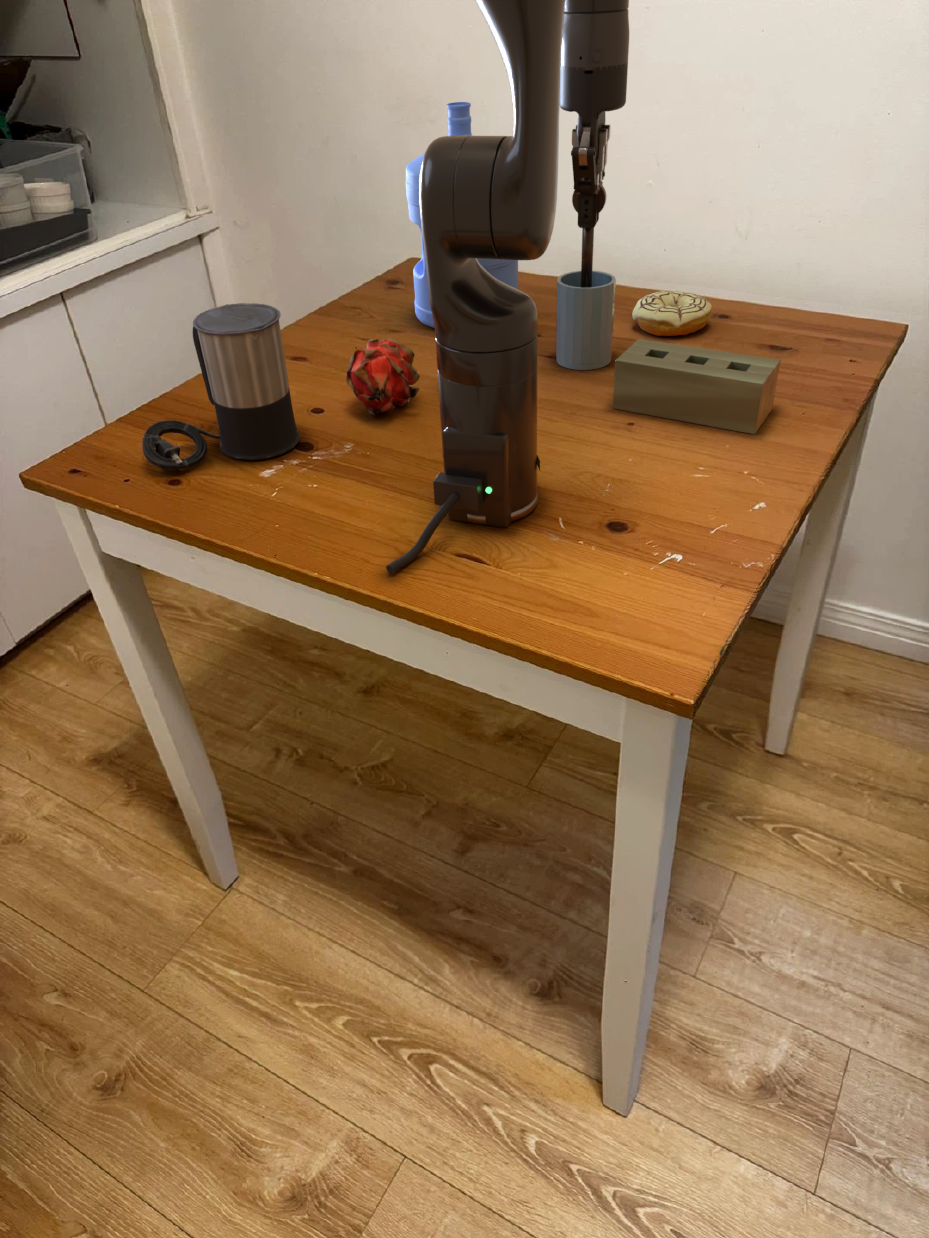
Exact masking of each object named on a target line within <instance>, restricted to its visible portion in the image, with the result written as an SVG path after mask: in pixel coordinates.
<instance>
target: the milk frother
mask: <svg viewBox="0 0 929 1238" xmlns="http://www.w3.org/2000/svg"><path fill="white" fill-rule="evenodd" d="M280 311H281V310H279V309H278V308H276V307H274V306H272V305H269V304H265V303H256V302H241V303H230V304H224V305H221V306H217V307H216V306H215V307H211V308H209V309H207V310H205V311H203V312H201V313H199V314H197V315H196V316H195V317H194V319H193V321H192V339H193V340H192V341H193V345H194V348H195V352H196V355H197V359H198V364H199V368H200V371H201V374H202V380H203V383H204V386H205V389H206V393H207V397H208V401H209V403H210V404H211V405H212V406H214V410H215V415H216V421H217V426H218V433H219V434H214V433H210V432H208V431H206V430H204V429H203V428H199V427H197V426H196V425H193V424H190V423H186V422H183V421H180V420H176V419H173V420H172V419H171V420H170V419H169V420H166V419H165V420H161V421H160V420H159V421H157V422H155V423H152V424H151V425H150V426H148V428H147V429H146V431H145V432H144V434H143V437H142V438H141V439H142V440H141V441H142V443H141V446H142V447H141V448H142V454H143V456H144V457H145V459H146V460H147V462H149V463H150V464H152V465H153V466H155V467H156V468H159V469H162V470H168V471H179V470H180V471H181V470H186V469H190V468H192V467H194V466H197V465H198V464H201V463H202V462H203V461H204V459H205V458H206V456H207V453H208V444H207V441H206V439H205V437H204V436H207V437H210V438H212V439H217V440H220V442H219V448H220V451H221V452H222V454H224V455H225V456H228V457H230V458H233V459H236V460H237V459H238V460H245V461H246V460H247V461H258V460H265V459H269V458H274V457H277V456H280V455H283V454H286V453H287V452H289V451H291V450H293V449H294V448H295V447H296V446H297V445H298V444H299V443H300V439H301V435H300V432H299V429H298V428H297V424H296V419H295V414H294V408H293V403H292V396H291V391H290V384H289V377H288V376H289V375H288V369H287V364H286V355H285V350H284V343H283V338H282V332H281V325H280V318H281V315H282V313H281V312H280ZM171 433H172V434H181V435H183V436H186V437H188V438H189V439H191V440H192V441H193V442H194V444H195V450H194V452H193V453H192V454H190V455H189V456H187V457H184V458H181V456H180V455H181V453H180V452H181V448H180V446H178V445H176V446H175V445H174V444H172V443H171V442H169V441H167V440H166V439H162V436H163V435H164V434H171ZM203 435H204V436H203Z"/></svg>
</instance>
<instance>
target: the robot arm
mask: <svg viewBox="0 0 929 1238" xmlns="http://www.w3.org/2000/svg"><path fill="white" fill-rule="evenodd" d="M474 1H475V3H476V5H477V6H478V9H479V10H480V12H481V14H482V17H483V18H484V20H485V22H486V24H487V26H488V28H489V30H490V33H491V35H492V37H493V39H494V41H495V44H496V46H497V49H498V52H499V54H500V57H501V59H502V62H503V65H504V68H505V71H506V74H507V78H508V82H509V87H510V93H511V100H512V111H513V131H512V135H472V136H448V135H443V136H439V137H437V138H435V139H434V140H432V141H431V143H429V144H428V146H427V148H426V150H425V152H424V153H425V154H424V153H423V154H424V157H423V161H422V164H421V170H420V180H419V205H420V217H421V227H422V234H423V242H424V250H425V258H426V266H427V275H428V286H429V297H430V306H431V311H432V315H433V319H434V325H435V328H434V338H435V351H436V352H435V353H436V367H437V385H438V399H439V415H440V431H441V445H442V446H441V447H442V462H443V472H442V471H440V472H438V474H437V475H436V477H435V478H434V479H433V480H432V484H433V485H432V486H433V498H434V505H435V506H440V507H439V509H438V510H437V512H435V514H434V515H433V516H432V518H431V519H430V520H429V522H428V523H427V525H426V526H425V528H424V529H423V531H422V533H421V534H420V536H419V538H418V540H417V541H416V542H415V544H414V545H413V547H412V548H411V549H410V550H408V551H407V552H406V553H405V554H403V555H402V556H400V557H399V558H397V559H395V560H393V561H392V562H390V563H388V564H387V565H386V566H385V569H386V571H387V572H388V573H389V574H394V573H395V572H397V571H398V570H400V569H401V568H404V567H405V566H407V565H409V564H410V563H411V562H412V561H414V560H415V559H416V558H417V557H418V556H419V555H420V554H421V553H422V552H423V551H424V549H425V548H426V547H427V545H428V543H429V541H430V540H431V538H432V537H433V535H434V533H435V532H436V530H437V529H438V527H439V526H440V525H441V524H442V522H443V521H444V519H445V518H446V517H447V519H448V520H452V521H459V522H466V523H472V524H479V525H487V526H493V527H498V528H508V527H509V525H510V524H511V523H512V522H515V521H517V520H519V519H522V518H524V517H526V516H528V515H529V514H531V513H532V512H533V511H534V510H535V509H536V507H537V505H538V502H539V489H538V470H539V472H541V460H540V458H539V455H538V331H539V329H538V325H539V324H538V321H539V319H538V317H539V316H538V308H537V305H536V303H535V301H534V299H533V298H532V297H531V296H530V295H528V294H527V293H525V292H524V291H521V290H519V289H518V290H517V289H515V288H513V287H511V286H509V285H507V284H505V283H503V282H501V281H499V280H498V279H496V278H495V277H493V276H492V275H491V274H489V273H488V272H487V271H486V270H485V269H484V268H483V267H482V266H481V265H480V264H479V262H478V260H477V258H478V259H500V260H501V259H503V260H518V261H535V260H538V259H539V258H541V257H542V256H543V255H544V254H545V252H546V251H547V249H548V247H549V244H550V242H551V239H552V236H553V232H554V228H555V222H556V221H555V220H556V213H557V203H558V185H559V184H558V182H559V181H558V180H559V179H558V178H559V147H560V141H559V140H560V109H562V110H563V111H565V112H568V113H569V112H570V113H572V112H575V113H577V115H578V118H577V124H576V125H575V128H572V130H571V146H572V148H571V151H570V156H571V163H572V176H573V178H572V179H573V192H574V191H575V193H577V195H578V213H577V226H578V228H580V229H582V228H594V229H595V227H596V225H597V223H598V222H599V219H600V213H599V214H597V200H598V192H599V183H601V184H602V185H604V181H603V180H604V179H605V177H606V171H605V170H606V166H607V164H608V146H609V140H610V139H611V124H606V112H613V111H617V110H619V109H622V108H623V107H625V105H626V103H627V90H628V89H627V88H628V70H629V54H630V53H629V52H630V51H629V49H630V21H629V20H630V19H629V8H630V0H474ZM585 180H591V181H585Z"/></svg>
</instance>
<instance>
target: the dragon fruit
mask: <svg viewBox="0 0 929 1238" xmlns="http://www.w3.org/2000/svg"><path fill="white" fill-rule="evenodd" d="M414 359H415V352H414V351H413V349H411V348H410V347H407V346H405V345H404V344H401V343H400V342H399V341H398V339H395V338H394V337H387V338H383V339H382V340H379V339H378V338H373V339H369V340H368V341H367V343H366V348H364V349H356V350H355V351H354V352H353V354H352V355H351V356H350V359H349V366H348V368H347V371H346V375H345V380H346V383H347V385H348V386H349V387H350V389H351V390H352V392H353V394H354V396H355V397H356V398H357V399H358V400H359V401H360V402H361V403H362V405H363V406H364V407H365V408H366V411H367V412H368V413H369V414H370V415H372V416H374V417H376V416H377V413H383V412H386V411H387V412H388V411H393V409H395V407H396V406H399V407H400V406H401V407H402V406H404V405H405V404H407V402H408V401H409V400H410V399H414V398H415V397H416V396H417V395H418V393H419V391H420V387H419V386H415V384H417V382H419V380H420V377H421V375H420V373H418V369H416V368H415V367H414V365H413V362H414ZM393 403H394V404H393Z"/></svg>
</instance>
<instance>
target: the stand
mask: <svg viewBox="0 0 929 1238" xmlns="http://www.w3.org/2000/svg"><path fill="white" fill-rule="evenodd" d="M780 365H781V359H777V358H772V357H763V356H757V355H751V354H744V353H737V352H730V351H723V350H717V349H710V348H703V347H697V346H690V345H682V344H677V343H671V342H663V341H657V340H648V339H642V338H637V340H636V341H634V342H633V343H632V344H631V345H630V346H629V347H628V348H627V349H626V350H624V351H623V352H622V353H621V354H620V355H619V356H618V357H617V358H616V359H615V362H614V379H613V395H612V396H613V397H612V409H614V410H618V411H619V410H620V411H625V412H630V413H634V414H635V413H636V414H641V415H648V416H653V417H657V418H662V419H669V420H674V421H679V422H685V423H690V424H696V425H702V426H707V427H712V428H717V429H723V430H728V431H733V432H734V431H735V432H739V433H745V434H750V435H756V433H757V432H758V430H759V429H760V427H761V426H762V425H763V423H764V422H765V420H766V419H767V417H768V416H769V415H770V414H771V412H772V410H773V408H774V402H775V395H776V390H777V384H778V377H779V372H780Z"/></svg>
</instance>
